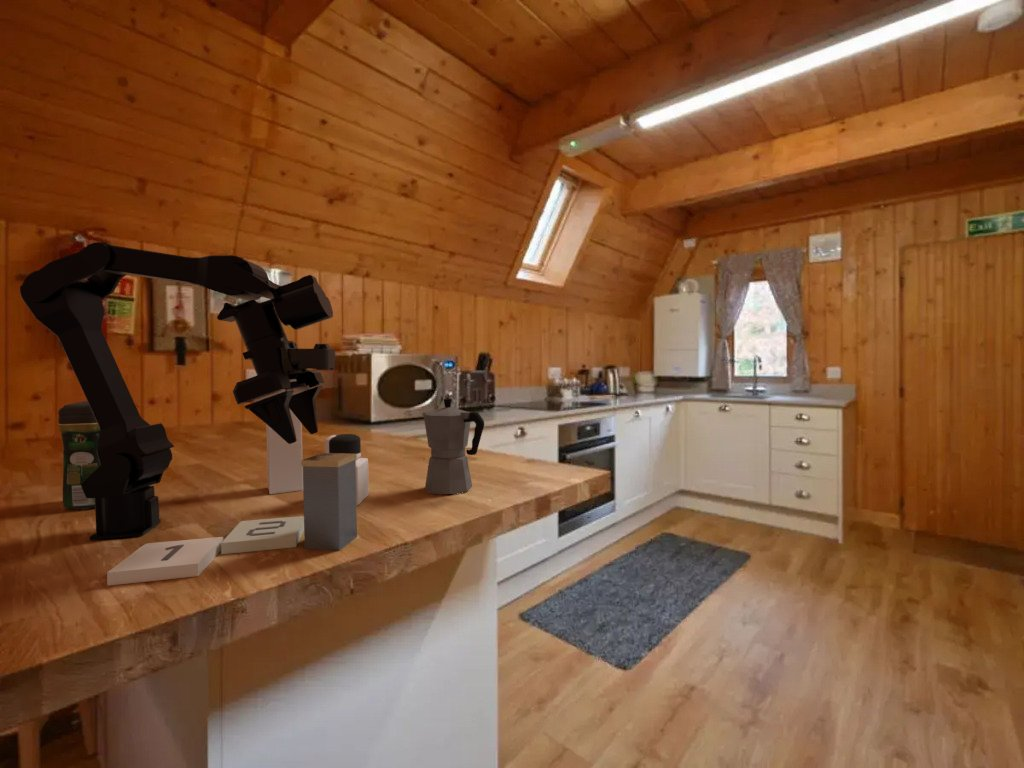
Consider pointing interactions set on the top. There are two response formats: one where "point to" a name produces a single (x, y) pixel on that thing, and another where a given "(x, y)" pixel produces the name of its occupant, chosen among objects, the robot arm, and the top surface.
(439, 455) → the coffeepot
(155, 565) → the tile
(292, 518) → the tile
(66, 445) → the coffee jar
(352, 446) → the medicine bottle
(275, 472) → the milk
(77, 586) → the top surface
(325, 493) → the tea tin
